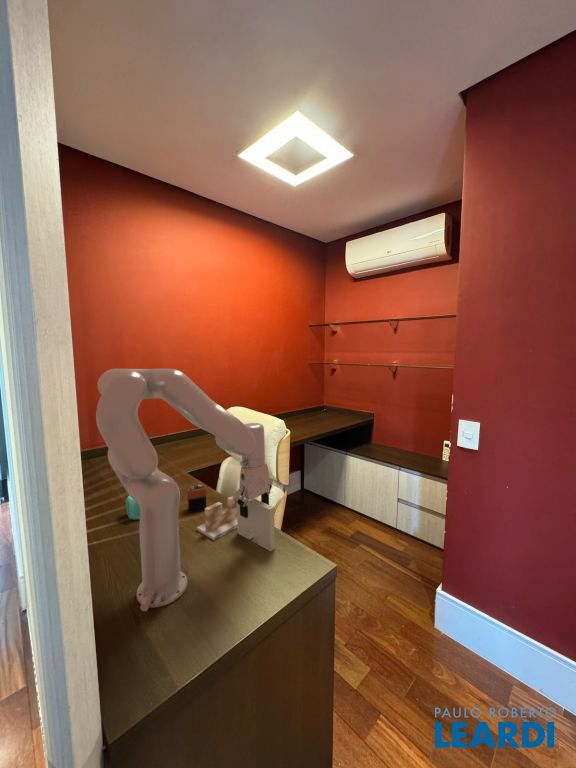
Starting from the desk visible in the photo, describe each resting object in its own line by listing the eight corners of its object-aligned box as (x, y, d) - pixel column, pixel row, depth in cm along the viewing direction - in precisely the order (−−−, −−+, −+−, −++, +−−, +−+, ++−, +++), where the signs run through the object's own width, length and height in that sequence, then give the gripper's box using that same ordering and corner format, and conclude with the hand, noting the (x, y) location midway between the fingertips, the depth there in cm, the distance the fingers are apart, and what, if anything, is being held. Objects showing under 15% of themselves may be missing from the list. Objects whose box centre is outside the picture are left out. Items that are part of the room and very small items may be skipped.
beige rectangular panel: (270, 551, 99) (269, 509, 97) (237, 533, 109) (236, 495, 108) (274, 548, 100) (274, 507, 99) (242, 530, 111) (240, 493, 109)
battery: (206, 509, 126) (205, 486, 125) (189, 513, 124) (188, 489, 123) (205, 505, 130) (204, 482, 129) (188, 508, 128) (187, 485, 127)
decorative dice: (126, 514, 124) (125, 495, 123) (147, 507, 129) (146, 489, 128) (131, 522, 118) (130, 502, 117) (153, 515, 123) (152, 495, 122)
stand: (213, 540, 105) (212, 514, 104) (196, 530, 111) (195, 505, 111) (252, 519, 119) (252, 495, 118) (235, 510, 125) (235, 488, 124)
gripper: (241, 471, 93) (242, 525, 95) (279, 456, 106) (280, 504, 108) (225, 466, 98) (227, 517, 100) (264, 452, 111) (265, 498, 113)
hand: (255, 510), depth 104 cm, fingers open, 9 cm apart
